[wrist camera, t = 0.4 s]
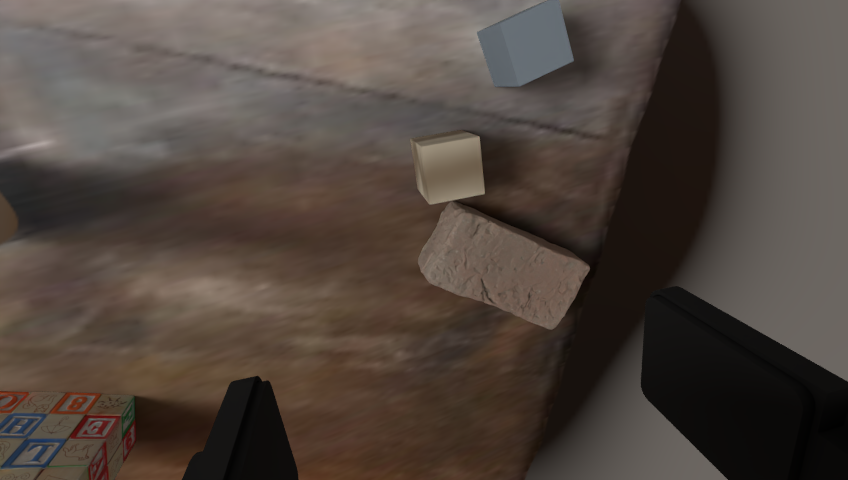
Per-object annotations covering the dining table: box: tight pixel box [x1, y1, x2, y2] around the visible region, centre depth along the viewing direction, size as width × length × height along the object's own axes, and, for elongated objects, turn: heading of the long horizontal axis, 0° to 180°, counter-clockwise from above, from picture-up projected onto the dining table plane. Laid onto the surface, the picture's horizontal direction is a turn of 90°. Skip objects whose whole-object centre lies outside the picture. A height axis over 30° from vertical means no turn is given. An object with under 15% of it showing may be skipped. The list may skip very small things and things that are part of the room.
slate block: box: [477, 0, 574, 87], centre depth 36 cm, size 5×5×6 cm
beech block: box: [410, 130, 485, 204], centre depth 39 cm, size 5×5×6 cm
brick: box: [418, 201, 590, 330], centre depth 44 cm, size 17×8×5 cm, turn 64°
